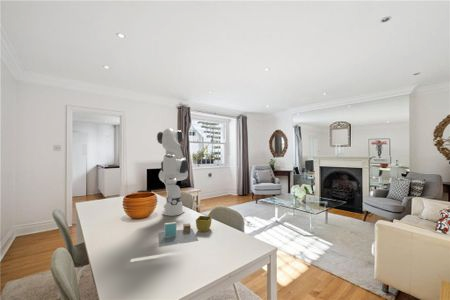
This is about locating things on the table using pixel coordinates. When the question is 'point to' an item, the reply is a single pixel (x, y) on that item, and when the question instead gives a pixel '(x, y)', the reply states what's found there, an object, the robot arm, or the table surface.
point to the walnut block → (187, 227)
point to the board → (177, 238)
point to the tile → (170, 229)
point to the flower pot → (203, 223)
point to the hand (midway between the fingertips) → (169, 200)
